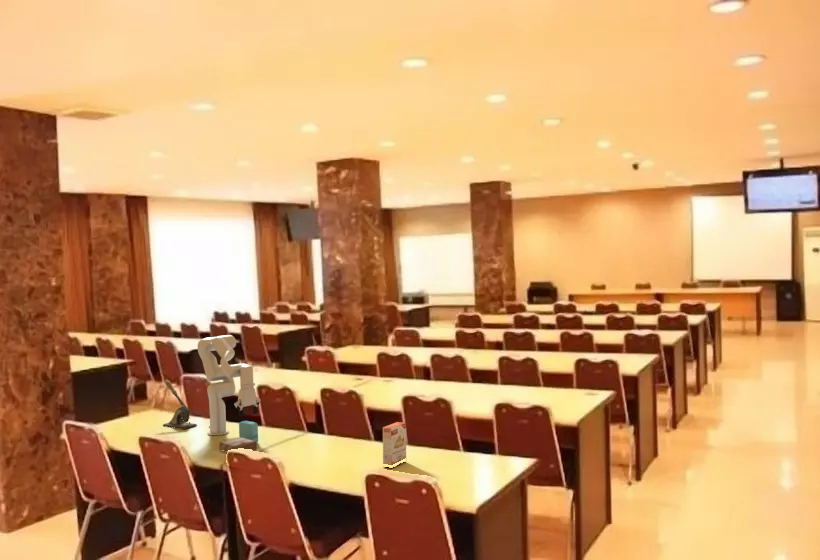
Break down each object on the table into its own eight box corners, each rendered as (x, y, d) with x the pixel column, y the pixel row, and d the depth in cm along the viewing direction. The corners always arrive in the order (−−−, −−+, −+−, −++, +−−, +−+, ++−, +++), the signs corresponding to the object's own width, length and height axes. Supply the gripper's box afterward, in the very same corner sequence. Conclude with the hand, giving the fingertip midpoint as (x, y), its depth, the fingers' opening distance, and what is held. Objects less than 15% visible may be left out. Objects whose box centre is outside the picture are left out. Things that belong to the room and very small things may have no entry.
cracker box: (392, 469, 362) (391, 428, 361) (382, 467, 365) (381, 427, 364) (407, 462, 374) (406, 422, 373) (397, 460, 377) (396, 421, 376)
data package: (258, 443, 420) (257, 422, 420) (252, 444, 417) (251, 424, 416) (245, 440, 428) (244, 420, 427) (239, 441, 424) (238, 421, 424)
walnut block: (219, 450, 407) (219, 441, 407) (240, 445, 417) (240, 437, 417) (235, 455, 396) (234, 446, 396) (256, 450, 406) (256, 441, 406)
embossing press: (183, 430, 457) (181, 383, 456) (161, 425, 471) (159, 380, 470) (197, 426, 466) (196, 380, 464) (175, 422, 480) (173, 377, 478)
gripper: (255, 383, 430) (256, 411, 430) (230, 387, 417) (231, 417, 418) (263, 384, 424) (264, 413, 425) (237, 389, 412) (238, 418, 413)
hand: (248, 415), depth 421 cm, fingers open, 9 cm apart
